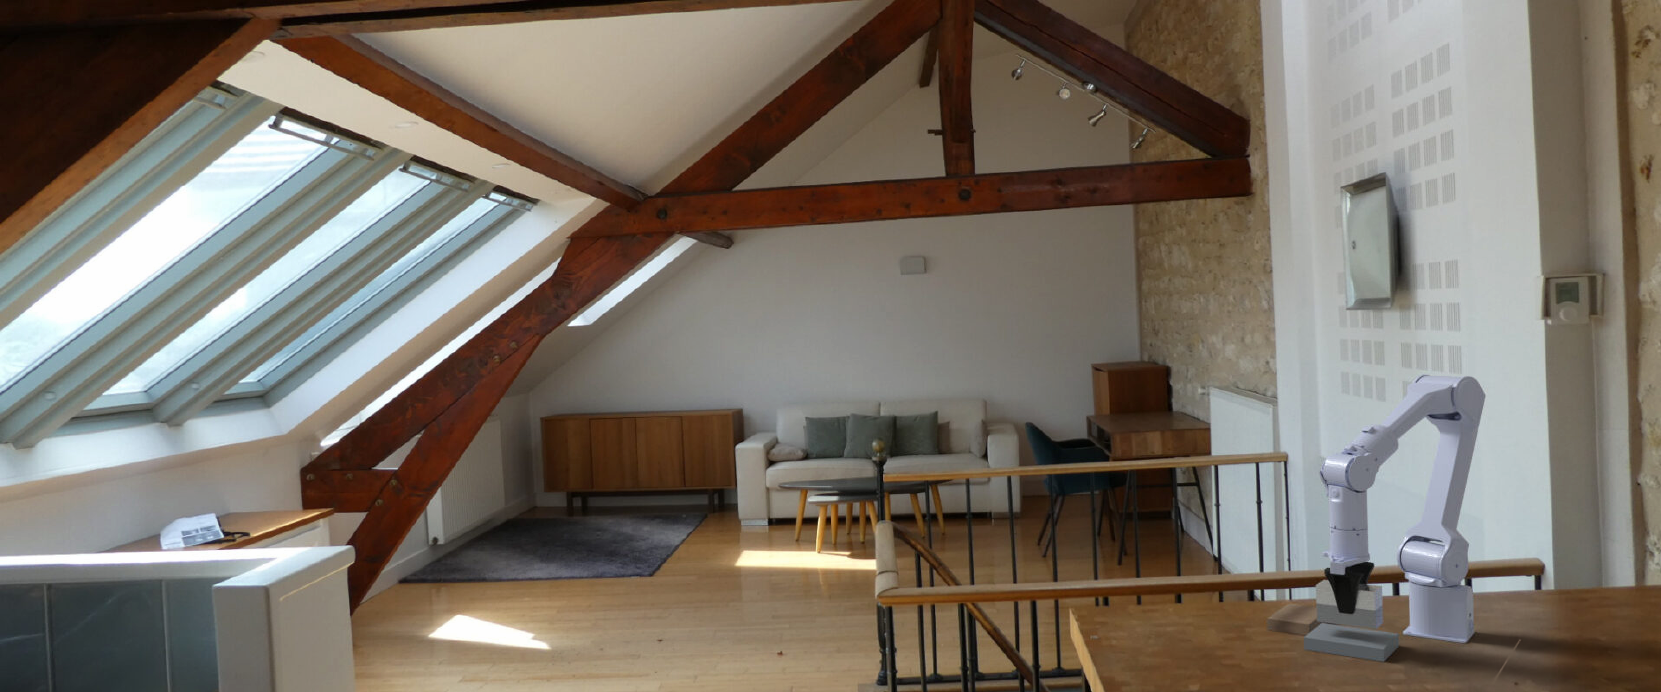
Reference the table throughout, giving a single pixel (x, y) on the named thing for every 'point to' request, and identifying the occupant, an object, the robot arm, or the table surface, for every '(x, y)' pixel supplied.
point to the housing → (1365, 608)
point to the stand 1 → (1294, 619)
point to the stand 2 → (1352, 642)
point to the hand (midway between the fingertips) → (1350, 609)
